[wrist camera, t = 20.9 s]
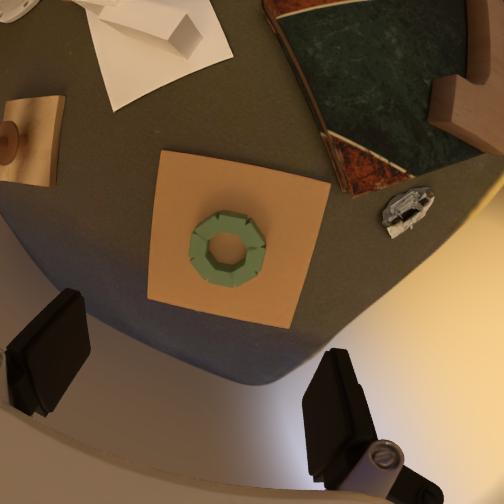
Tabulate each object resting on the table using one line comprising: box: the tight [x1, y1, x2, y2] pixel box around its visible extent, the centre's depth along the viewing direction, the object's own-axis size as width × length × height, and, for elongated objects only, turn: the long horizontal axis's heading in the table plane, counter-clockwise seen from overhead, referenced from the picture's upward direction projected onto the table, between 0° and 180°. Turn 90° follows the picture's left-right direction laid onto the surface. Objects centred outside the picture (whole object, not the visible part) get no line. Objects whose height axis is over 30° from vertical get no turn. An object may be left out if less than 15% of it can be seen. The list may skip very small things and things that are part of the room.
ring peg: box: [0, 95, 66, 187], centre depth 19 cm, size 9×9×7 cm
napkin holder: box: [72, 0, 233, 112], centre depth 15 cm, size 15×11×6 cm
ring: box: [188, 210, 266, 288], centre depth 24 cm, size 6×6×2 cm
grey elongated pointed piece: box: [382, 187, 435, 239], centre depth 23 cm, size 6×2×3 cm
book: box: [259, 0, 484, 199], centre depth 16 cm, size 17×4×25 cm
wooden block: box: [427, 0, 504, 156], centre depth 13 cm, size 7×3×15 cm
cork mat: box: [147, 150, 331, 329], centre depth 25 cm, size 14×14×1 cm
